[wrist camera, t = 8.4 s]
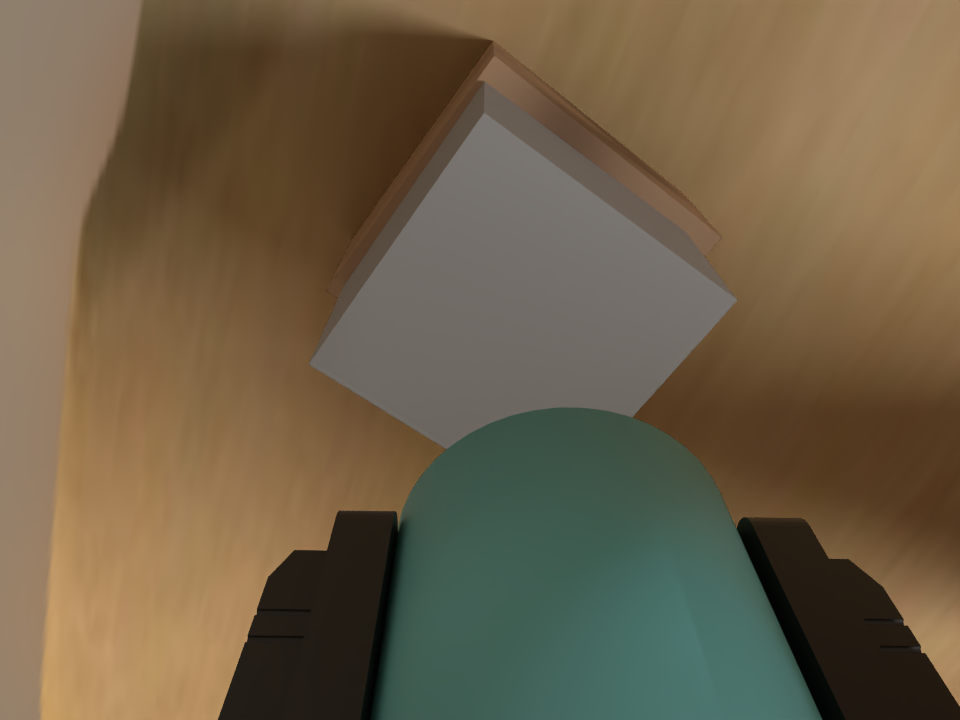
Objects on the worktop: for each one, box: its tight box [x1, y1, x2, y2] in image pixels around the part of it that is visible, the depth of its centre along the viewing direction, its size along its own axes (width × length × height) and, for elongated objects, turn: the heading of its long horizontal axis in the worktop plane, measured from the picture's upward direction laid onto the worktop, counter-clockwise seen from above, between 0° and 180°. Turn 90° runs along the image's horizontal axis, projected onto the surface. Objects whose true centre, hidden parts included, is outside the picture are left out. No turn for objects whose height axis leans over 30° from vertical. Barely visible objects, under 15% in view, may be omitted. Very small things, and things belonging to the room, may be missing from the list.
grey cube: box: [309, 81, 737, 449], centre depth 20 cm, size 6×6×5 cm
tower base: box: [326, 41, 722, 298], centre depth 25 cm, size 8×8×5 cm
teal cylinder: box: [370, 407, 822, 720], centre depth 9 cm, size 4×4×5 cm
